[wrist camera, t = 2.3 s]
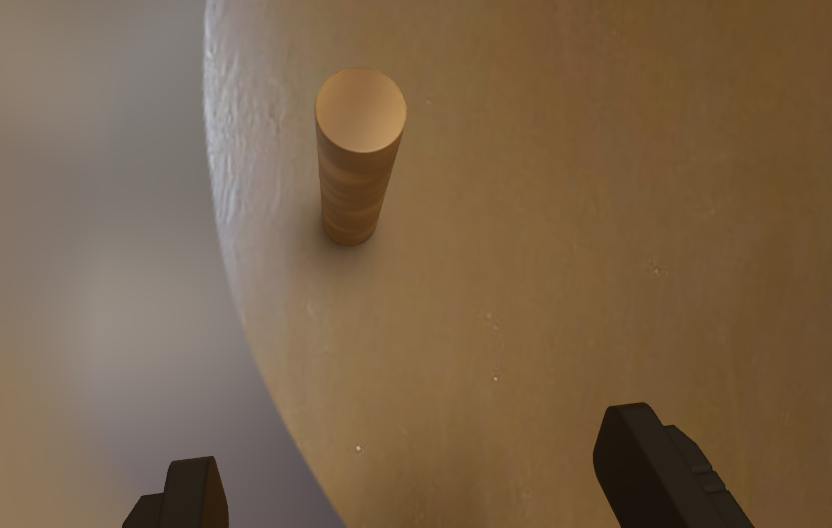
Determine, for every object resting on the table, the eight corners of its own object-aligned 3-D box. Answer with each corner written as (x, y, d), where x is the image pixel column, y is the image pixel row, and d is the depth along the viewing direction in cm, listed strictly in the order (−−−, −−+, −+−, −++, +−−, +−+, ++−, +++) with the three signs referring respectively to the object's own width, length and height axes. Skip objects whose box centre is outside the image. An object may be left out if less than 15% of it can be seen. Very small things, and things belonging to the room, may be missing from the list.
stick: (320, 243, 32) (310, 147, 18) (325, 191, 33) (319, 60, 19) (374, 248, 32) (403, 157, 19) (378, 196, 33) (409, 72, 19)
